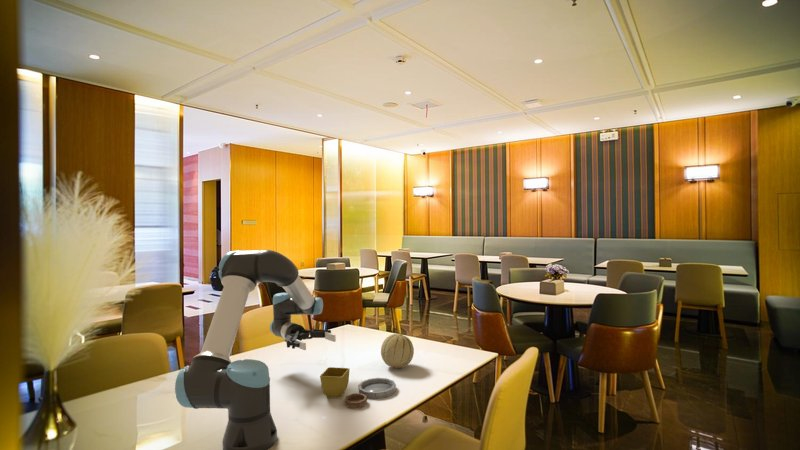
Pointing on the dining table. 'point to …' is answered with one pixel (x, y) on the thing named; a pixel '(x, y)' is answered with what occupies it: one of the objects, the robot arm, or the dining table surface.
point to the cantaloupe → (397, 350)
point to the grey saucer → (377, 387)
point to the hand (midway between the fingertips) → (320, 342)
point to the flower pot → (334, 381)
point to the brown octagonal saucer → (355, 400)
